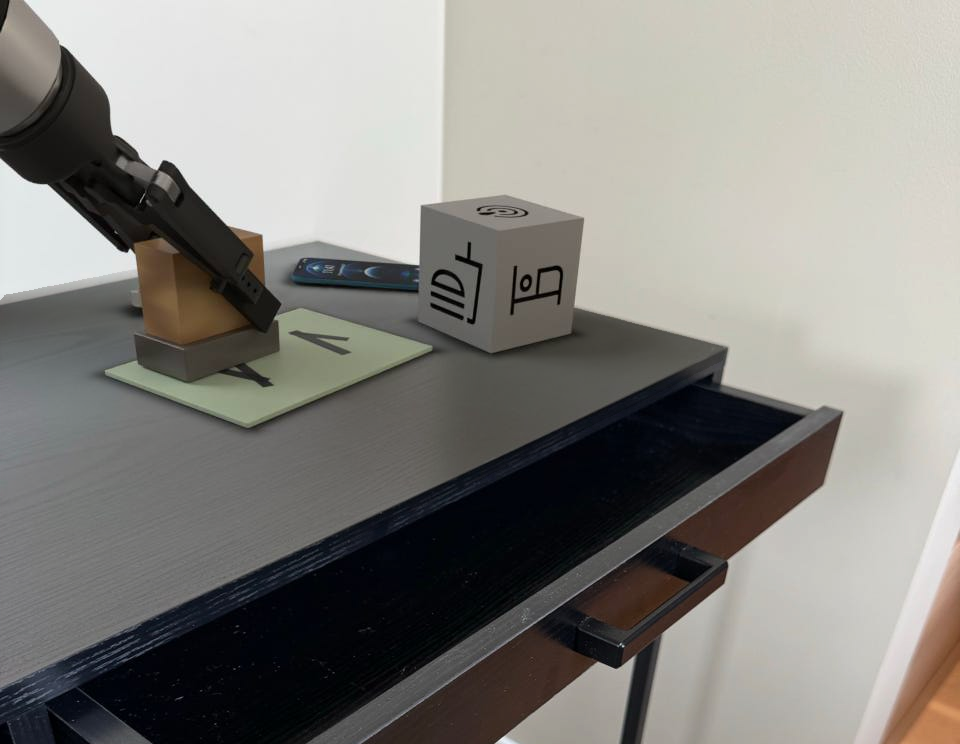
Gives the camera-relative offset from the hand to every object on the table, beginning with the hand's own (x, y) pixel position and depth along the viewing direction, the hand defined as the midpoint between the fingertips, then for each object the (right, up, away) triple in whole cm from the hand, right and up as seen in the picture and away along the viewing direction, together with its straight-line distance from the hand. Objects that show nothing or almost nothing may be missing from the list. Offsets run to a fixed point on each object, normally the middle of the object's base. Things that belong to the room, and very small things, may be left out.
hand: (241, 308), depth 78 cm
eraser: (-2, -4, -1) cm, 5 cm away
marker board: (+3, -4, +1) cm, 5 cm away
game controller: (-8, +1, +7) cm, 11 cm away
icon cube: (+20, +2, +11) cm, 24 cm away
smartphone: (+8, +10, +22) cm, 25 cm away
